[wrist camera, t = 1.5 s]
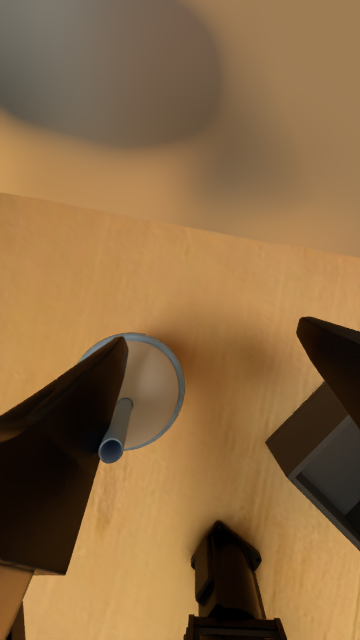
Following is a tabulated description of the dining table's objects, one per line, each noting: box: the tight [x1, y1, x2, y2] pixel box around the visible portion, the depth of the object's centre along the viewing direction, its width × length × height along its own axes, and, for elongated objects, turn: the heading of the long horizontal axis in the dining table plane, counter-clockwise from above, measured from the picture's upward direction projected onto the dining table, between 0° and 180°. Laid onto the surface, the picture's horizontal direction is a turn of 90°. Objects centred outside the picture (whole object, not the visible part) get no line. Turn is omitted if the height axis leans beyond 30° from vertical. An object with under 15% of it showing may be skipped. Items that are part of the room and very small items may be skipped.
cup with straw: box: [77, 333, 185, 463], centre depth 15 cm, size 9×9×18 cm
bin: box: [265, 382, 360, 551], centre depth 19 cm, size 12×12×6 cm
